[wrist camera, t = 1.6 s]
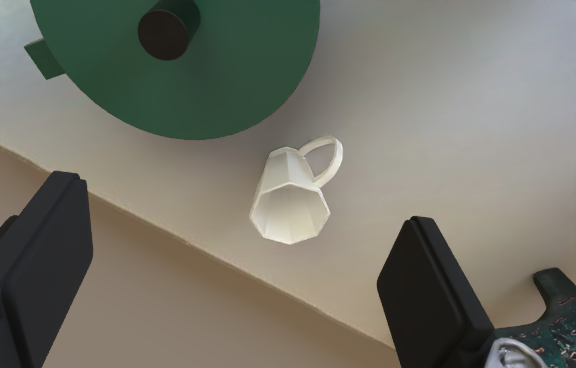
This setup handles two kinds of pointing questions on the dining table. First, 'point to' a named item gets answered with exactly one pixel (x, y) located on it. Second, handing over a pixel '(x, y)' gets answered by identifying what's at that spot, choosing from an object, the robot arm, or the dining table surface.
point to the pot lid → (183, 58)
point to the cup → (293, 194)
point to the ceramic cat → (551, 322)
